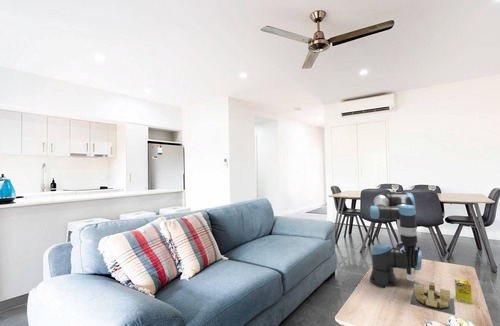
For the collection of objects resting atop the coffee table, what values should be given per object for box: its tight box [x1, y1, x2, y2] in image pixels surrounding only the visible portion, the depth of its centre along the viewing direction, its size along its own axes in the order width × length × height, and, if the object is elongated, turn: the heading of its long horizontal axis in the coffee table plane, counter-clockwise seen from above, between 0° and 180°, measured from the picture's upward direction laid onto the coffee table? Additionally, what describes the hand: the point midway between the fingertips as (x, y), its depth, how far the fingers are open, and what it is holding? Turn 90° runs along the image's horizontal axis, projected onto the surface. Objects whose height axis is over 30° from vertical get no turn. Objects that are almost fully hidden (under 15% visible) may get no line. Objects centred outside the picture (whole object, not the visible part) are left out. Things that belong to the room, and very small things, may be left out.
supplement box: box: [454, 278, 473, 305], centre depth 132 cm, size 6×6×11 cm
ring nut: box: [413, 281, 451, 308], centre depth 132 cm, size 15×15×7 cm
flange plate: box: [409, 289, 456, 316], centre depth 132 cm, size 18×18×4 cm
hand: (410, 280), depth 134 cm, fingers closed
